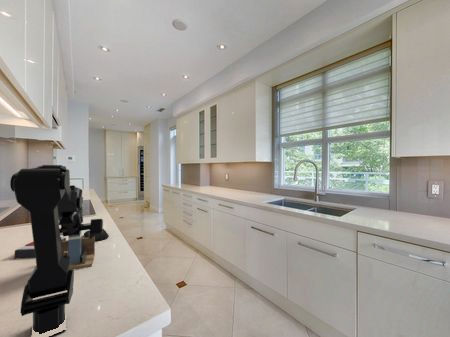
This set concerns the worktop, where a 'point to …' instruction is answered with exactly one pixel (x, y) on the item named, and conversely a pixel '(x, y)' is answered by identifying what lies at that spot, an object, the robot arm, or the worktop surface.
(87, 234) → the carrying case or bag
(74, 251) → the blue tall block
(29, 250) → the calculator
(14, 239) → the worktop surface
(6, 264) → the worktop surface
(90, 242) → the stand
